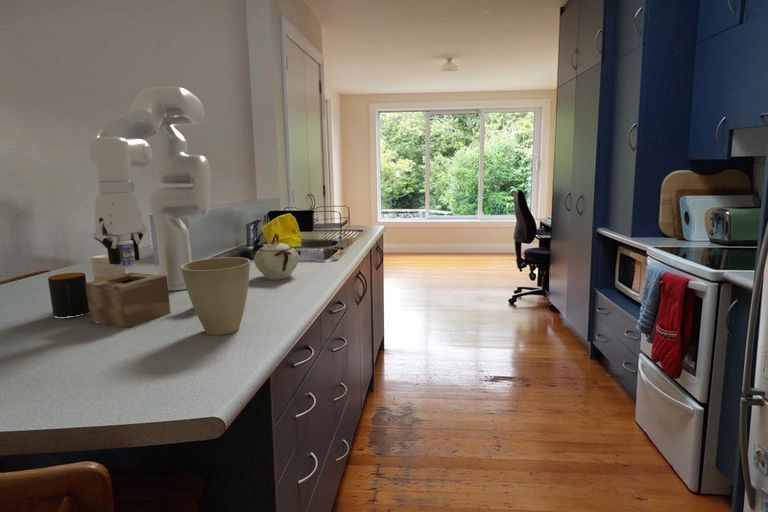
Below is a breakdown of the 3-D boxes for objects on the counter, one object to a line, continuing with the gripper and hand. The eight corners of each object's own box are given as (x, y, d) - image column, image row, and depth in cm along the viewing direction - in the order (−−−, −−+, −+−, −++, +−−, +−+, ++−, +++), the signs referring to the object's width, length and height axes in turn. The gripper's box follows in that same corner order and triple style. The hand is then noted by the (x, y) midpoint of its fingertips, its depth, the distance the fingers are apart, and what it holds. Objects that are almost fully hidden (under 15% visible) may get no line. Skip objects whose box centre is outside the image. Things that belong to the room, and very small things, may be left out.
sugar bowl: (309, 279, 167) (307, 234, 164) (266, 285, 159) (262, 239, 156) (288, 269, 183) (286, 229, 181) (248, 275, 176) (244, 232, 173)
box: (90, 322, 124) (85, 283, 123) (135, 308, 136) (130, 272, 134) (127, 327, 119) (122, 287, 117) (170, 312, 131) (166, 275, 129)
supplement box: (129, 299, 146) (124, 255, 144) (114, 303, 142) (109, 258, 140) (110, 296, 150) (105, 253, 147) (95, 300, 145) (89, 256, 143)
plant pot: (202, 321, 123) (196, 257, 120) (262, 320, 123) (257, 256, 120) (176, 342, 108) (168, 270, 106) (243, 341, 108) (238, 269, 105)
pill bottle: (127, 268, 122) (123, 234, 121) (110, 268, 123) (106, 234, 122) (140, 264, 127) (136, 232, 126) (123, 264, 128) (120, 232, 126)
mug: (53, 324, 124) (47, 283, 122) (53, 313, 134) (48, 275, 132) (91, 318, 128) (86, 278, 126) (89, 307, 138) (84, 271, 136)
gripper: (134, 187, 131) (142, 255, 134) (72, 190, 116) (82, 267, 119) (155, 187, 128) (163, 257, 131) (94, 190, 113) (104, 269, 116)
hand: (124, 261), depth 125 cm, fingers closed on pill bottle, 4 cm apart
